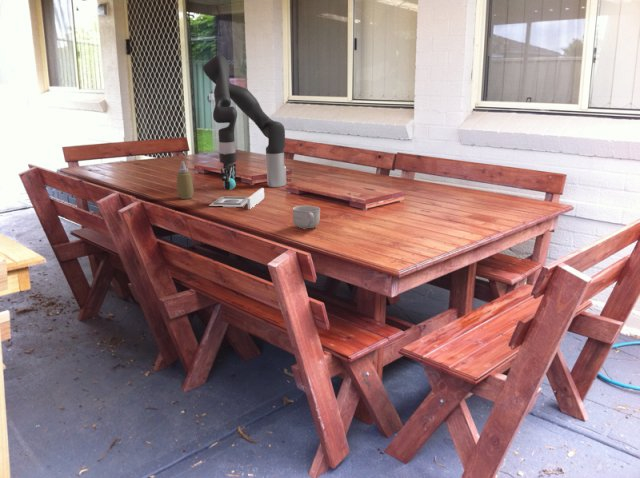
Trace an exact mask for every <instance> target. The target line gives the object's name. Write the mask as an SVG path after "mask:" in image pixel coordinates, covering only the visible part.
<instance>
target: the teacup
mask: <svg viewBox="0 0 640 478" xmlns="http://www.w3.org/2000/svg"><path fill="white" fill-rule="evenodd" d="M320 217H321V208H320V207H319V206H314V205H313V206H312V205H298V206H297V205H296V206H294V207H292V221H293V224H294V225H295V226H296V227H297V228H298V227H299V228H298V229H300V228H313V227H315V228H316V227H317V226H318V225H319V223H320V221H321V220H320ZM313 229H314V228H313Z"/></svg>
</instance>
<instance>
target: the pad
mask: <svg viewBox="0 0 640 478" xmlns="http://www.w3.org/2000/svg"><path fill="white" fill-rule="evenodd" d="M249 197H250V196H231V195H230V196H229V195H228V196H227V195H226V196H221V197H219V198H217V199H216V200H215V201H213V202H211V203H210V204H208V207H209V206H223V207H222V208H236V207H243V208H244V207H245V205H246V204H247V205H248V201H247V198H249ZM247 205H246V206H247Z"/></svg>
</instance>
